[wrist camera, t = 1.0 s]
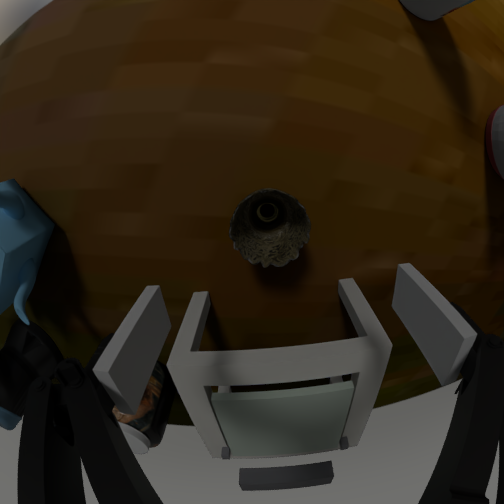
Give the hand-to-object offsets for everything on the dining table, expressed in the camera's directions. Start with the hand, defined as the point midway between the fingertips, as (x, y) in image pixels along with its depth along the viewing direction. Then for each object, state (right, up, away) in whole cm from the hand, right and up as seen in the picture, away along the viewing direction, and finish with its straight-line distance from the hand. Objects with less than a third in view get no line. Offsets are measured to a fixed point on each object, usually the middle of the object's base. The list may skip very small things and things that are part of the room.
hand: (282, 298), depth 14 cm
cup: (0, +7, +18) cm, 20 cm away
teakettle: (-38, +7, +19) cm, 43 cm away
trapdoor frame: (+2, -12, +26) cm, 29 cm away
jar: (-21, -21, +30) cm, 42 cm away
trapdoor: (+3, -22, +15) cm, 27 cm away
